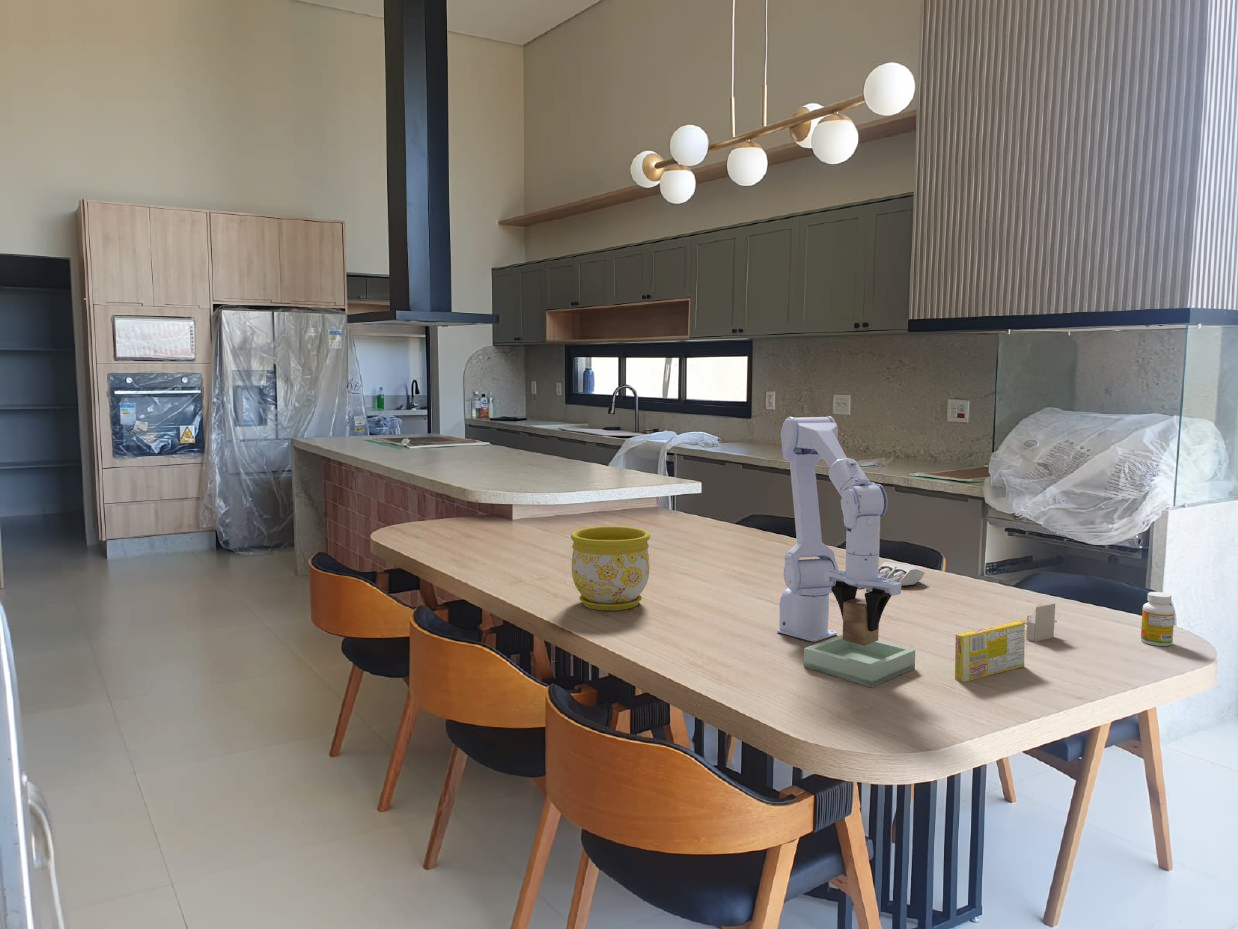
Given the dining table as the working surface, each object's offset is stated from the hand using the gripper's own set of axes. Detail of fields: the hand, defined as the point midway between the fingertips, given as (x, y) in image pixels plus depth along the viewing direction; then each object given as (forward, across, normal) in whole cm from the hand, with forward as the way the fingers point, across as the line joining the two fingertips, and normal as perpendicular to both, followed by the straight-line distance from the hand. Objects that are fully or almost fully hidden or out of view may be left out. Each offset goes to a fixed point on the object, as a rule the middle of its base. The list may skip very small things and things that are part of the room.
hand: (860, 627), depth 161 cm
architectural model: (+8, +14, +42) cm, 45 cm away
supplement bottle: (+8, +31, +56) cm, 64 cm away
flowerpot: (+8, -63, -4) cm, 64 cm away
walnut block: (+2, 0, 0) cm, 3 cm away
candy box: (+8, +17, +15) cm, 24 cm away
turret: (+8, -30, +59) cm, 66 cm away
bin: (+8, 0, 0) cm, 8 cm away
